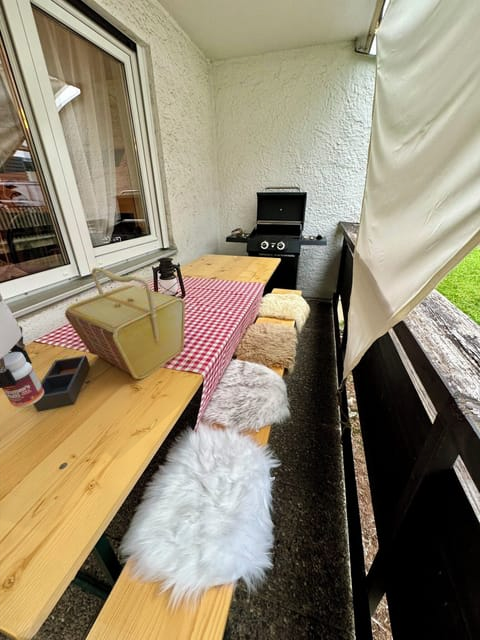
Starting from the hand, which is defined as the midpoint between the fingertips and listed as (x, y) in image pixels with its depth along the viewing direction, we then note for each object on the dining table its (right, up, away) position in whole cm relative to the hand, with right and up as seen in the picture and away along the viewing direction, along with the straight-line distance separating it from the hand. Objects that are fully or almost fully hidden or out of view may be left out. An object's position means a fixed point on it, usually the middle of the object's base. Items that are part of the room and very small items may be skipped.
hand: (16, 374), depth 56 cm
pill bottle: (0, -6, +3) cm, 7 cm away
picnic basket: (+13, 0, +35) cm, 38 cm away
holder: (-4, -8, +22) cm, 24 cm away
